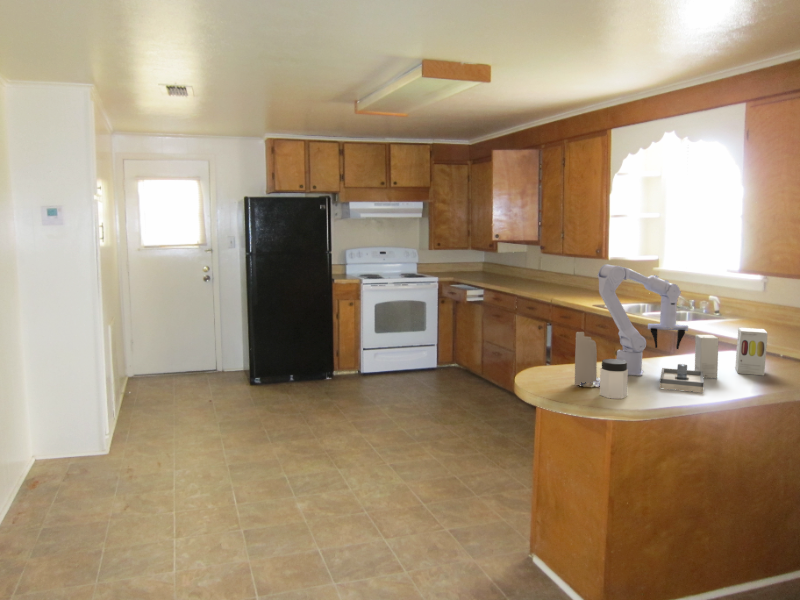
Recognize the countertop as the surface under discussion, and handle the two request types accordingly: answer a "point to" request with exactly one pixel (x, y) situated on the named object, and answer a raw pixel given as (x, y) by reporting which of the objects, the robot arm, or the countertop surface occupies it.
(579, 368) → the beige stepped upright panel
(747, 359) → the supplement box
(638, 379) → the countertop surface
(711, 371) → the skincare box
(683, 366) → the peg
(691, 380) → the tray
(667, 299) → the robot arm
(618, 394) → the jar
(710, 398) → the countertop surface
